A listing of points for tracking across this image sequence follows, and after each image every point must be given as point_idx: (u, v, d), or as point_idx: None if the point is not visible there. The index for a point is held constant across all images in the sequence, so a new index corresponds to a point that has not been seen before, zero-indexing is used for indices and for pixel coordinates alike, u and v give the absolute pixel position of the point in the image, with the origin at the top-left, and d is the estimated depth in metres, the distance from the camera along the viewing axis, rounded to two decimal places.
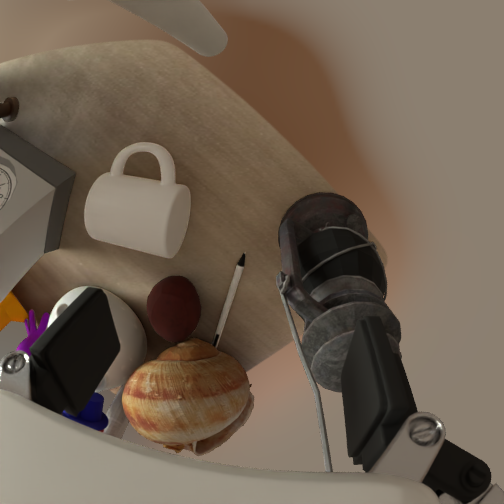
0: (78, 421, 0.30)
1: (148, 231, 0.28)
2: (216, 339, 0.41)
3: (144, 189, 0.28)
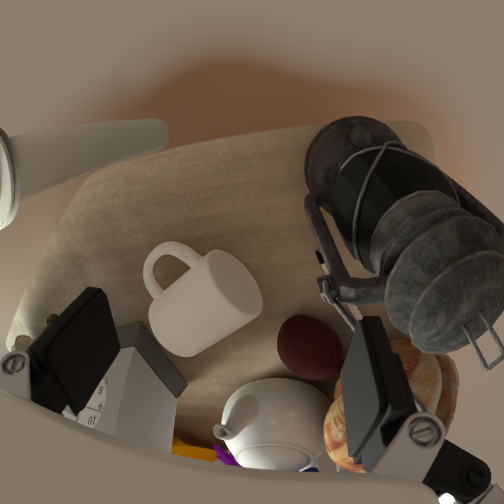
0: None
1: (215, 313, 0.27)
2: None
3: (183, 285, 0.28)
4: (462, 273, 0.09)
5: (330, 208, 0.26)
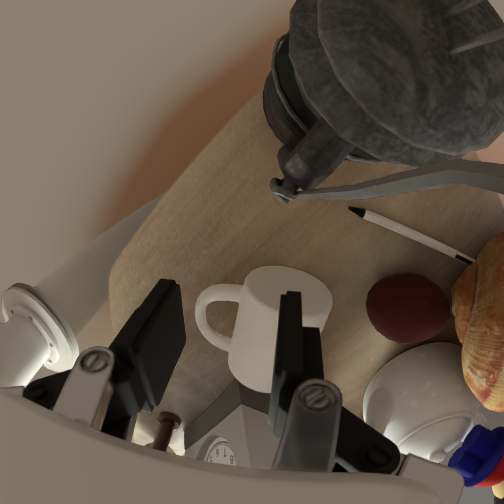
0: (484, 467, 0.17)
1: None
2: (462, 258, 0.25)
3: (240, 323, 0.26)
4: None
5: None
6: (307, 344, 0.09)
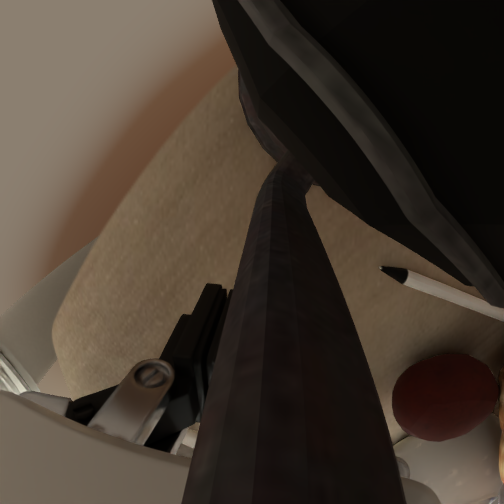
0: None
1: None
2: None
3: None
4: None
5: None
6: None
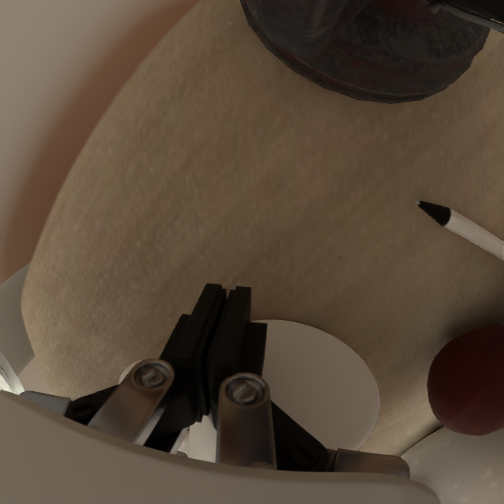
0: None
1: None
2: None
3: (193, 438, 0.11)
4: None
5: (374, 57, 0.07)
6: (251, 339, 0.09)
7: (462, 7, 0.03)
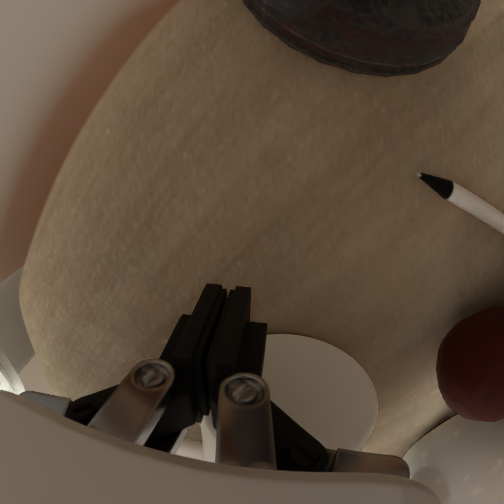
0: None
1: None
2: None
3: (204, 450, 0.12)
4: None
5: (367, 24, 0.06)
6: (250, 339, 0.09)
7: None
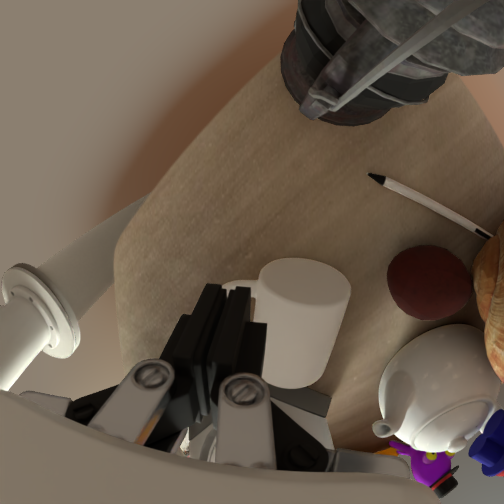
0: None
1: (300, 324, 0.22)
2: (481, 233, 0.23)
3: (258, 319, 0.25)
4: None
5: (340, 110, 0.19)
6: (250, 339, 0.09)
7: None
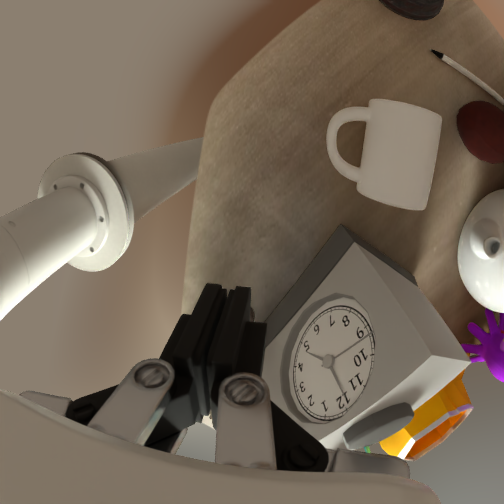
0: None
1: (418, 125, 0.22)
2: None
3: (376, 133, 0.25)
4: None
5: (412, 1, 0.19)
6: (250, 339, 0.09)
7: None
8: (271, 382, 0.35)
